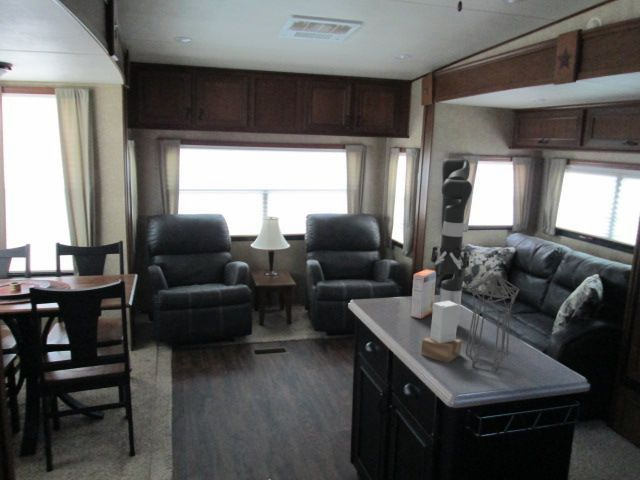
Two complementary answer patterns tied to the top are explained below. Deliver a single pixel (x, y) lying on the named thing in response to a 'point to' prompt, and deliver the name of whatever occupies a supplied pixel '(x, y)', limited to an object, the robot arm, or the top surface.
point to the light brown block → (441, 349)
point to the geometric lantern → (475, 292)
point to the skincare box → (444, 321)
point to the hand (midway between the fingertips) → (448, 276)
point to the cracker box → (423, 293)
